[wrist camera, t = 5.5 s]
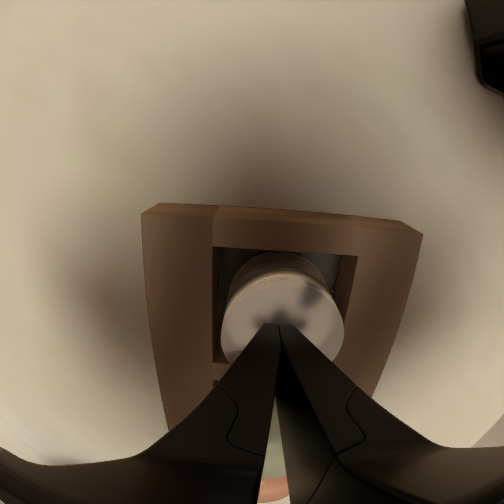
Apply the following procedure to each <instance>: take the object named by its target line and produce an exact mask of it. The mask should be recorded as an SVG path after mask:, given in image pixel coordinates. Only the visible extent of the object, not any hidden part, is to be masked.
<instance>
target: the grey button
mask: <svg viewBox="0 0 504 504" xmlns="http://www.w3.org/2000/svg"><path fill="white" fill-rule="evenodd" d="M263 323H276V324H277V325H278V324H280V323H284V324H293V325H294V326H295V327H296V328H297V329H298V330H299V331H300V332H301V333H302V334H303V335H304V336H305V337H306V338H308V339H309V340H310V341H311V342H312V343H313V344H314V345H315V346H316V347H317V348H318V349H319V350H320V351H321V352H322V353H323V354H324V355H325V356H326V357H328V358H329V359H330V360H331V361H333V360H334V359H335V357H336V356H337V354H338V352H339V350H340V349H341V346H342V343H343V338H344V325H343V321H342V317H341V315H340V313H339V311H338V308H337V306H336V304H335V302H334V300H333V297H332V295H331V293H330V291H329V289H328V287H327V285H326V282H325V280H324V278H323V276H322V274H321V273H320V271H319V270H318V268H317V267H316V266H315V265H314V264H313V263H312V262H310V261H309V260H308V259H306V258H304V257H302V256H300V255H298V254H294V253H291V252H284V251H275V252H268V253H264V254H261V255H259V256H256V257H254V258H252V259H251V260H249V261H248V262H246V263H245V264H244V265H243V266H242V267H241V268H240V269H239V270H238V271H237V273H236V274H235V276H234V278H233V280H232V282H231V285H230V289H229V294H228V299H227V304H226V309H225V314H224V320H223V325H222V330H221V345H222V349H223V352H224V355H225V357H226V358H227V360H228V362H229V363H230V364H231V365H232V364H233V362H234V361H235V360H236V358H237V357H238V356H239V355H240V353H241V352H242V351H243V349H244V348H245V347H246V345H247V344H248V343H249V341H250V340H251V339H252V338H253V336H254V335H255V334H256V332H257V331H258V330H259V328H260V327H261V326H262V324H263Z"/></svg>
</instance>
